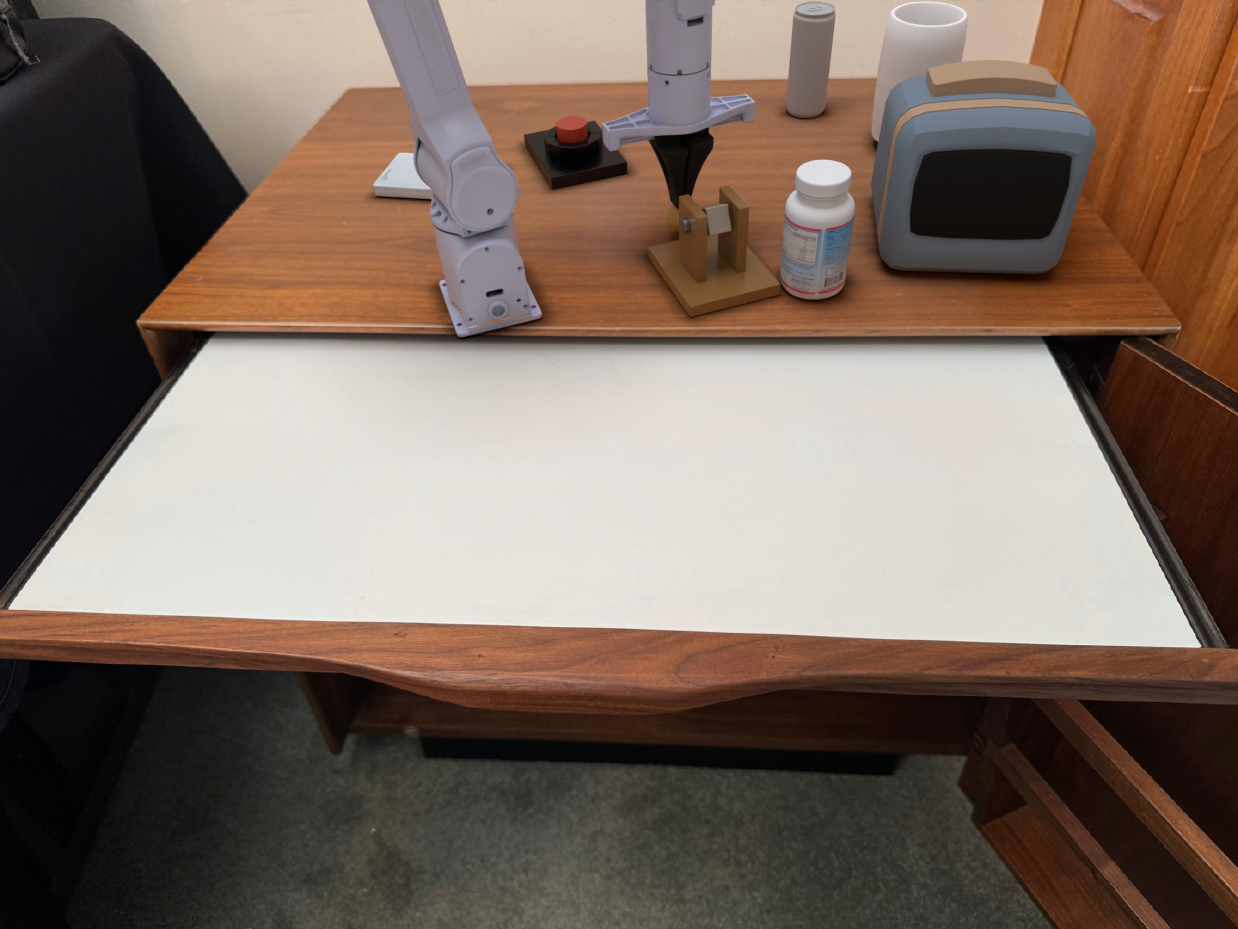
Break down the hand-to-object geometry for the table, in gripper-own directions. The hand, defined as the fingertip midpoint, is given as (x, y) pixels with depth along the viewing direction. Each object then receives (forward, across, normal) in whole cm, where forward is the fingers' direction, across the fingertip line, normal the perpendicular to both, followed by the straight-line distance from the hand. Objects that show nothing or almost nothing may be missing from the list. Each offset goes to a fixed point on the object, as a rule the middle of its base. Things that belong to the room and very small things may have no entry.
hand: (679, 202), depth 88 cm
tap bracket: (+3, 0, +8) cm, 9 cm away
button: (+1, +5, -21) cm, 21 cm away
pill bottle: (+4, -8, +13) cm, 16 cm away
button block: (+3, +5, -21) cm, 22 cm away
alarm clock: (+4, -25, +11) cm, 28 cm away
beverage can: (+4, -25, -21) cm, 33 cm away
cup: (+4, -31, -8) cm, 32 cm away
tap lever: (+1, 0, +5) cm, 5 cm away
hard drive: (+4, +21, -22) cm, 30 cm away
